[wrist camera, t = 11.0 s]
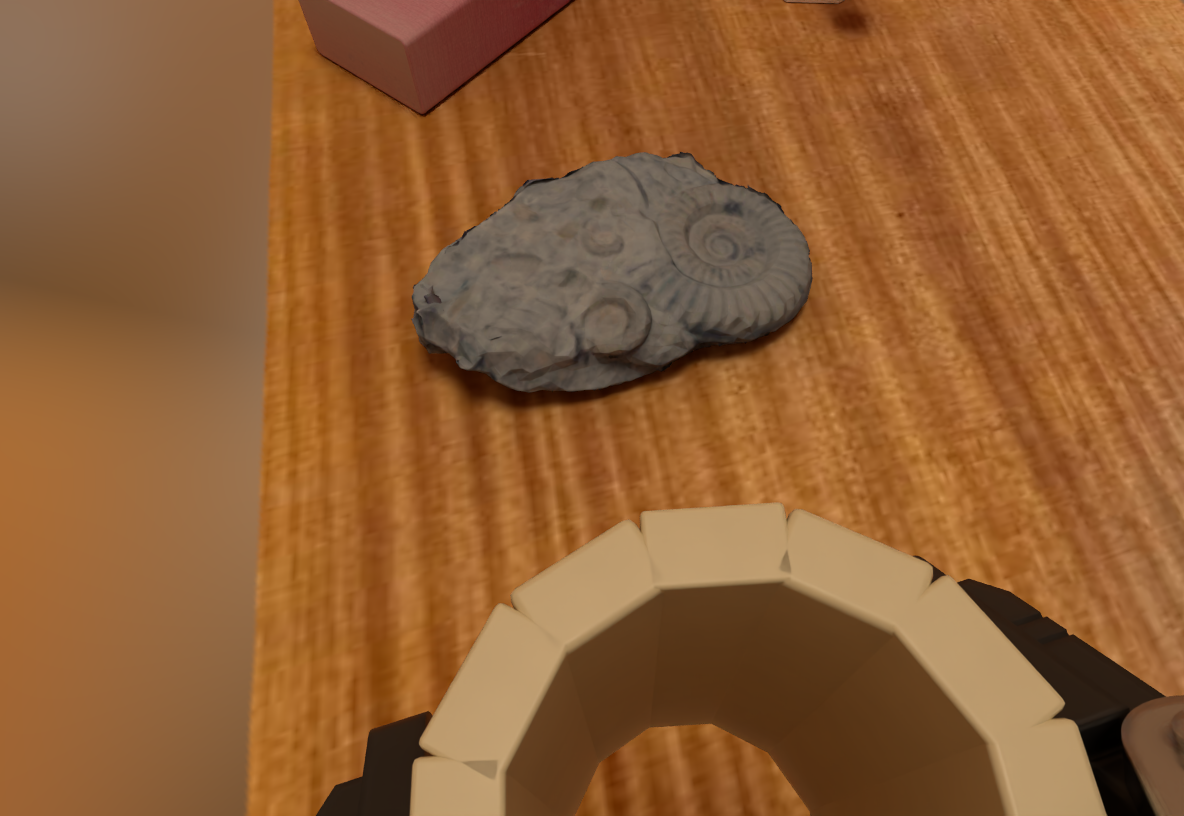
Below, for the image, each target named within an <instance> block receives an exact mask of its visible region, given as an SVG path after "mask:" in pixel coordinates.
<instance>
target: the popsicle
mask: <svg viewBox="0 0 1184 816" xmlns="http://www.w3.org/2000/svg"><path fill="white" fill-rule="evenodd" d="M570 1H571V0H299V3H300V5H301V8H302V11H303V13H304V16H305V18H306V21H307V24H308V26H309V29H310V32H311V34H312V37H313V40H314V42H315V45H316V47H317V49H318V51H319V52H320V53H321V54H322V55H323V56H325V57H327V58H328V59H330V60H332V61H333V62H335V63H337V64H338V65H340V66H342V67H343V68H345V69H347V70H348V71H350V72H352V73H353V74H355V75H357V76H358V77H360V78H362V79H363V80H365V81H367V82H368V83H370V84H372V85H373V86H375V87H377V88H378V89H380V90H382V91H383V92H385V93H387V94H388V95H390V96H392V97H393V98H395V99H397V100H398V101H400V102H402V103H403V104H405V105H407V106H408V107H410V108H412V109H413V110H415V111H417V112H418V113H420V114H424V113H426V112H427V111H428V110H430V109H431V108H432V107H433V106H435V105H436V104H437V103H439V102H440V101H441V100H442V99H444V98H445V97H446V96H448V95H449V94H450V93H452V92H453V91H454V90H455V89H457V88H458V87H459V86H461V85H462V84H463V83H465V82H466V81H467V80H468V79H470V78H471V77H472V76H474V75H475V74H476V73H478V72H479V71H480V70H481V69H483V68H484V67H485V66H487V65H488V64H489V63H491V62H492V61H493V60H494V59H496V58H497V57H498V56H500V55H501V54H502V53H503V52H505V51H506V50H507V49H509V48H510V47H511V46H513V45H514V44H515V43H516V42H518V41H519V40H520V39H522V38H523V37H524V36H526V35H527V34H528V33H529V32H531V31H532V30H533V29H535V28H536V27H537V26H539V25H540V24H541V23H542V22H544V21H545V20H546V19H548V18H549V17H550V16H552V15H553V14H554V13H555V12H557V11H558V10H559V9H561V8H562V7H563V6H564V5H566V4H567V3H568V2H570Z"/></svg>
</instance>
